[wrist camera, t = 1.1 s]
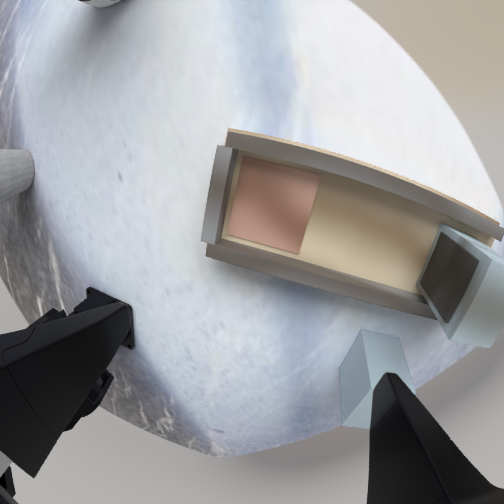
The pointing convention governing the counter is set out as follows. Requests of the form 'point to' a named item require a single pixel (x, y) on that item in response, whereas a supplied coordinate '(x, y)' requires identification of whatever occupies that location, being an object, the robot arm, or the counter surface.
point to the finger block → (368, 374)
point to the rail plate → (355, 233)
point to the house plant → (15, 172)
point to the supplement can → (100, 2)
